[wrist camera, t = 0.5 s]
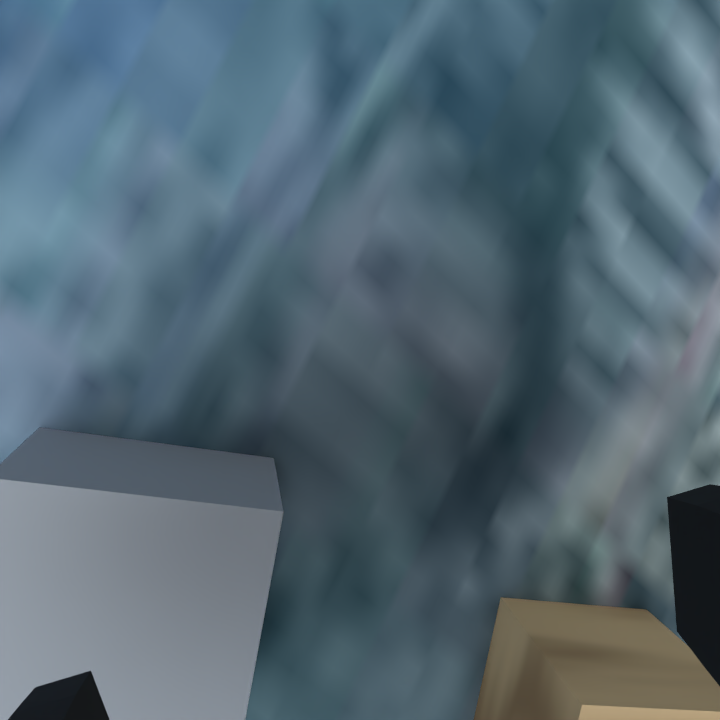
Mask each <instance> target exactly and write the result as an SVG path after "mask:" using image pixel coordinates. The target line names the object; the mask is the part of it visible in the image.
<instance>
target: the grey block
mask: <svg viewBox="0 0 720 720" xmlns="http://www.w3.org/2000/svg"><path fill="white" fill-rule="evenodd" d="M283 512H284V511H283V506H282V500H281V495H280V489H279V484H278V479H277V473H276V468H275V462H274V458H270V457H262V456H254V455H247V454H239V453H231V452H224V451H216V450H209V449H201V448H193V447H186V446H178V445H171V444H163V443H155V442H148V441H140V440H132V439H125V438H117V437H110V436H102V435H94V434H87V433H79V432H72V431H64V430H56V429H49V428H41V427H39V428H38V429H37V430H36V431H35V432H34V433H33V434H32V435H31V436H30V437H29V438H28V439H26V440H25V441H24V442H23V443H22V444H21V445H20V446H19V447H18V448H17V449H16V450H15V451H14V452H13V453H11V454H10V455H9V456H8V457H7V458H6V459H5V460H4V461H3V462H2V463H1V464H0V720H8V719H9V718H10V716H11V715H12V714H13V713H14V712H15V710H16V709H17V708H18V707H19V705H20V704H21V703H22V702H23V701H24V700H25V698H26V697H27V696H28V695H29V694H30V693H31V692H32V690H33V689H34V688H35V687H38V686H41V685H44V684H48V683H51V682H54V681H58V680H61V679H64V678H68V677H71V676H74V675H78V674H81V673H84V672H88V671H91V672H92V675H93V677H94V680H95V683H96V685H97V688H98V691H99V693H100V696H101V698H102V701H103V704H104V706H105V709H106V712H107V714H108V717H109V719H110V720H245V718H246V712H247V707H248V702H249V696H250V691H251V685H252V680H253V675H254V669H255V664H256V658H257V653H258V647H259V642H260V637H261V631H262V626H263V620H264V615H265V610H266V604H267V599H268V593H269V588H270V583H271V577H272V572H273V566H274V561H275V556H276V550H277V545H278V539H279V534H280V529H281V523H282V518H283Z"/></svg>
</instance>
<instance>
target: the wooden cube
mask: <svg viewBox="0 0 720 720" xmlns="http://www.w3.org/2000/svg"><path fill="white" fill-rule="evenodd" d="M474 720H720V686H719V685H718V684H717V682H716V681H715V680H714V679H713V677H712V676H711V675H710V674H709V672H708V671H707V670H706V669H705V667H704V666H703V665H702V663H701V662H700V661H699V659H698V658H697V657H696V655H695V654H694V653H693V651H692V650H691V649H690V647H688V646H687V645H686V644H685V643H684V642H683V641H682V640H680V639H679V638H678V637H677V636H676V635H675V634H674V633H673V632H671V631H670V630H669V629H668V628H667V627H666V626H665V625H663V624H662V623H661V622H660V621H659V620H658V619H657V618H656V617H654V616H653V615H652V614H651V613H650V612H649V611H648V610H645V609H633V608H621V607H609V606H597V605H586V604H574V603H562V602H550V601H538V600H526V599H514V598H502V597H501V599H500V603H499V608H498V612H497V617H496V621H495V626H494V630H493V635H492V639H491V644H490V648H489V653H488V657H487V662H486V666H485V671H484V676H483V680H482V685H481V689H480V694H479V698H478V703H477V707H476V712H475V716H474Z"/></svg>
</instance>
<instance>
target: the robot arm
mask: <svg viewBox="0 0 720 720" xmlns="http://www.w3.org/2000/svg"><path fill="white" fill-rule="evenodd" d="M667 501H668V514H669V528H670V542H671V555H672V569H673V583H674V596H675V610H676V623H677V632H678V633H679V634H680V636H681V637H682V638H683V639H684V641H685V642H686V643H687V645H688V646H689V647H690V649H691V650H692V651H693V653H694V654H695V655H696V657H697V658H698V659H699V661H700V662H701V663H702V665H703V666H704V667H705V669H706V670H707V671H708V672H709V674H710V675H711V676H712V677H713V679H714V680H715V681H716V682H717V684H718V685H719V686H720V486H716V485H706V486H703V487H700V488H696V489H693V490H690V491H687V492H683V493H680V494H677V495H673V496H670V497H667ZM8 720H110V719H109V717H108V714H107V712H106V709H105V706H104V704H103V701H102V698H101V696H100V693H99V691H98V688H97V685H96V683H95V680H94V677H93V675H92V672H91V671H88V672H84V673H81V674H78V675H74V676H71V677H68V678H64V679H61V680H58V681H54V682H51V683H48V684H44V685H41V686H38V687H35V688H34V689H33V690H32V692H31V693H30V694H29V695H28V696H27V697H26V698H25V700H24V701H23V702H22V703H21V704H20V705H19V707H18V708H17V709H16V710H15V712H14V713H13V714H12V715H11V716H10V718H9V719H8Z"/></svg>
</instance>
